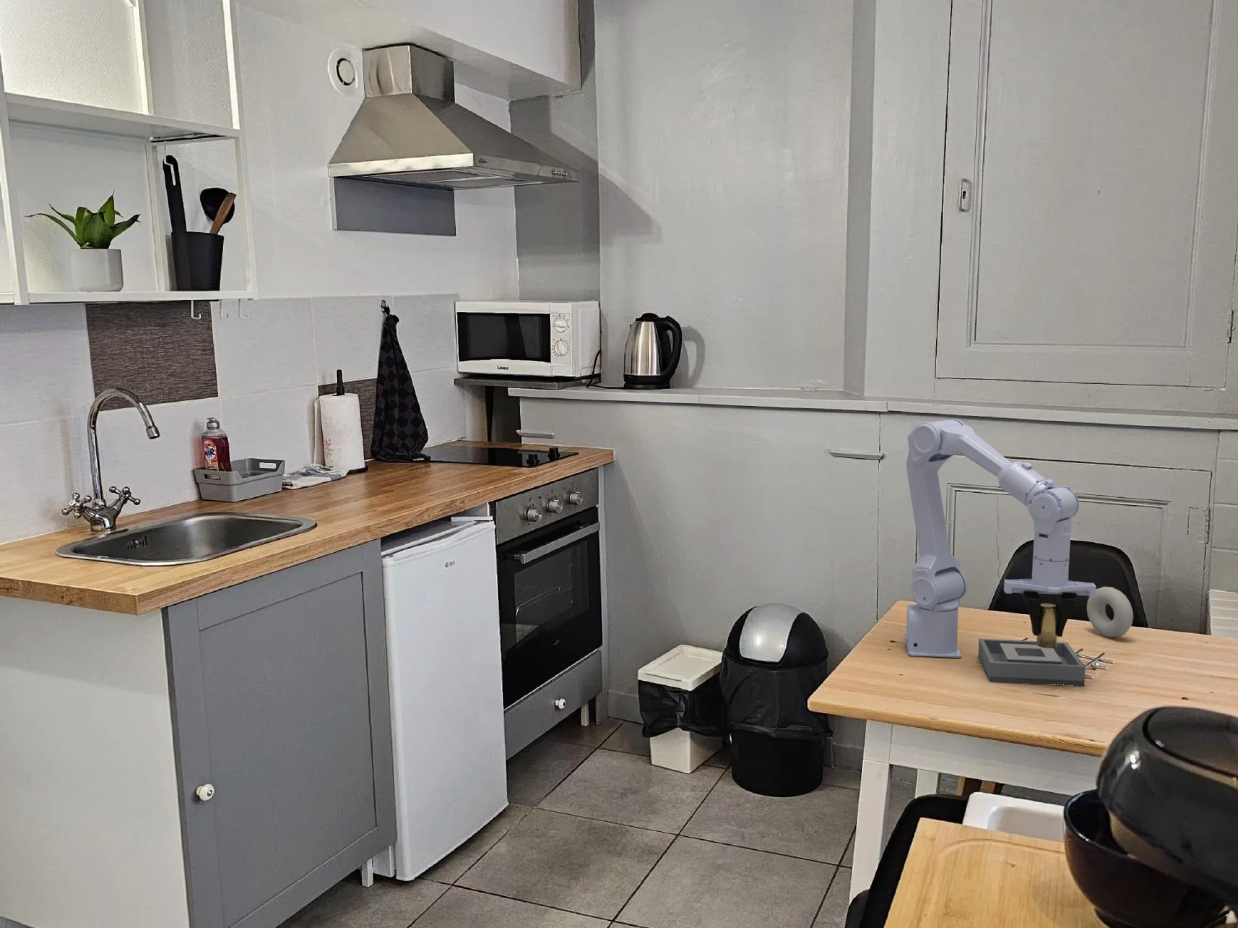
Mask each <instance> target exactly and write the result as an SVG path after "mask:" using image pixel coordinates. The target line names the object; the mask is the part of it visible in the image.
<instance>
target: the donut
mask: <svg viewBox="0 0 1238 928" xmlns="http://www.w3.org/2000/svg"><path fill="white" fill-rule="evenodd" d="M1086 604H1087V605H1086V611H1087V617H1088V619H1089V620H1088V621H1089V622H1090V624H1091V625H1092V627H1093V628H1094V630H1095V631H1097V633H1099V634H1101V635H1102V636H1105V637H1108V638H1119V637H1121V636H1124V635H1125V634H1126V633H1127V632H1129V631H1130V629H1131V627H1132V625H1133V621H1134V620H1133V619H1134V612H1133V608H1132V604H1131V602H1130V600H1129V599H1128V598H1127V596H1126V595H1125V594H1124V593H1123V592H1122V591H1120V590H1119V589H1118V588H1117V589H1116V588H1115V587H1113V586H1112V587H1111V586H1102V587H1100V588H1096V597H1089V596H1088V599H1087V602H1086ZM1107 605H1109V606H1110V607H1111V609H1112V610H1113V619H1110V618H1109V617H1108V616H1107V613H1106V606H1107Z"/></svg>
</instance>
